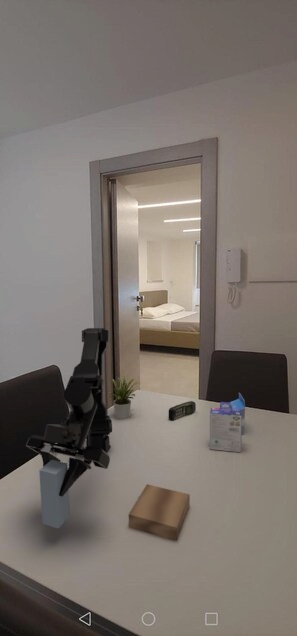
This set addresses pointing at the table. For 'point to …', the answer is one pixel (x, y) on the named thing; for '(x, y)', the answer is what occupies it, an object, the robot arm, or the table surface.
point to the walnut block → (160, 512)
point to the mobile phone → (181, 410)
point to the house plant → (122, 398)
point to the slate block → (53, 494)
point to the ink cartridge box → (225, 428)
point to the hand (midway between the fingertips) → (51, 493)
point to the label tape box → (239, 405)
